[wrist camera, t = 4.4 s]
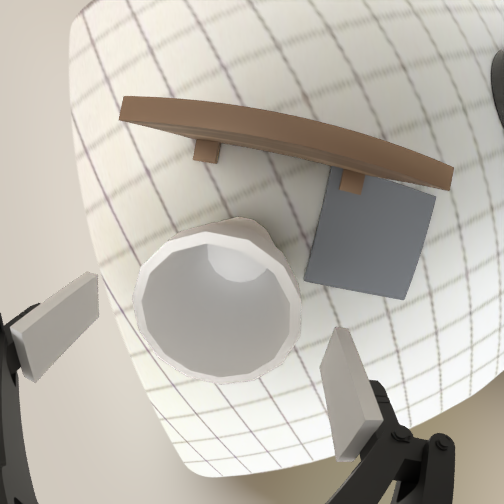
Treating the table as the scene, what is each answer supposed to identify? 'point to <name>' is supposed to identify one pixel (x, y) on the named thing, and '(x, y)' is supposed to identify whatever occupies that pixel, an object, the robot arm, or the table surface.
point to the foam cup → (219, 302)
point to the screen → (286, 140)
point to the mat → (369, 237)
